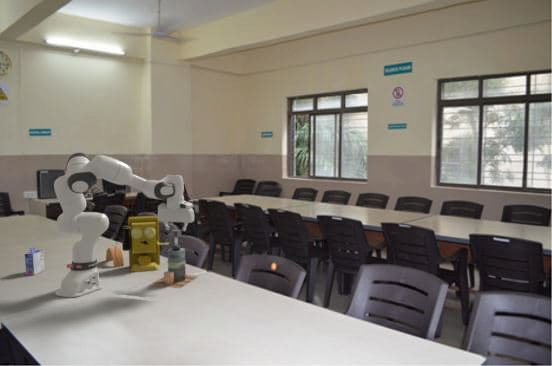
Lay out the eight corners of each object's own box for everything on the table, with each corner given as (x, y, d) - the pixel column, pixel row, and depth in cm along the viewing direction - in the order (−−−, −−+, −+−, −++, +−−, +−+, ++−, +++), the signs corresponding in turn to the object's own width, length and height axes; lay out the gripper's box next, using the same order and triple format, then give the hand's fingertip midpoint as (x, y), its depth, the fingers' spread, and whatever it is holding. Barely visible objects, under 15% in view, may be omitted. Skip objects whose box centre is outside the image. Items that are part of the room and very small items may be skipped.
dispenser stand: (180, 291, 227) (179, 252, 225) (148, 287, 232) (147, 250, 230) (199, 278, 248) (199, 243, 246) (170, 275, 253) (169, 241, 251)
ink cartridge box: (36, 270, 265) (35, 245, 264) (45, 270, 265) (44, 246, 263) (25, 275, 255) (24, 249, 254) (34, 275, 255) (33, 249, 254)
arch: (113, 267, 271) (113, 251, 270) (106, 260, 287) (105, 245, 286) (123, 266, 274) (123, 250, 273) (115, 259, 290) (114, 244, 290)
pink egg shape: (170, 285, 231) (170, 274, 230) (162, 285, 232) (161, 273, 231) (175, 282, 235) (175, 271, 235) (167, 282, 237) (166, 270, 236)
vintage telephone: (113, 273, 258) (111, 221, 256) (115, 267, 272) (113, 217, 269) (169, 269, 267) (168, 219, 264) (168, 263, 280) (167, 215, 277)
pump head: (172, 248, 232) (171, 233, 231) (165, 248, 233) (164, 233, 232) (181, 244, 242) (181, 230, 241) (174, 244, 243) (174, 229, 242)
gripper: (154, 204, 238) (155, 230, 239) (190, 205, 233) (190, 232, 234) (160, 202, 244) (161, 228, 246) (195, 204, 239) (195, 230, 240)
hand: (175, 230), depth 240 cm, fingers open, 8 cm apart
